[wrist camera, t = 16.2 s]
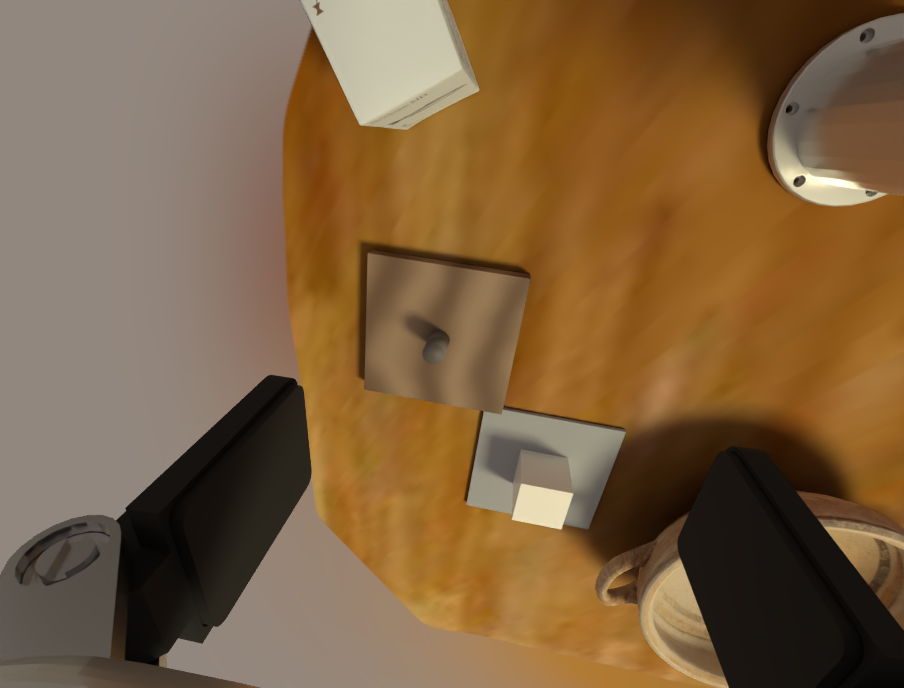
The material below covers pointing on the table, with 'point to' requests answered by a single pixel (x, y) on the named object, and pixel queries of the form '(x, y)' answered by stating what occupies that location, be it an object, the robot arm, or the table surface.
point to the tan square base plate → (441, 329)
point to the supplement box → (393, 57)
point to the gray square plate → (546, 434)
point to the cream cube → (541, 489)
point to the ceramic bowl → (676, 610)
